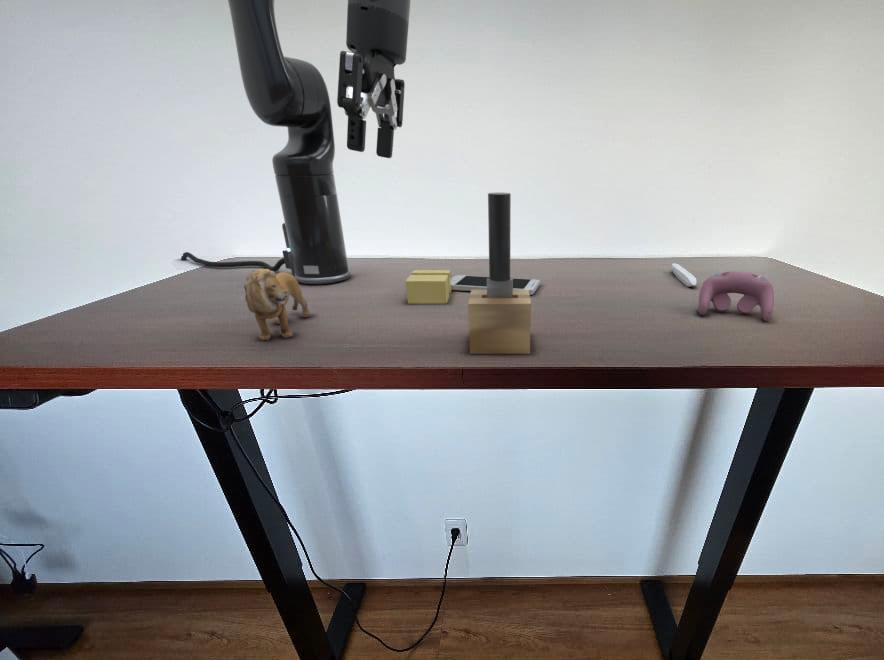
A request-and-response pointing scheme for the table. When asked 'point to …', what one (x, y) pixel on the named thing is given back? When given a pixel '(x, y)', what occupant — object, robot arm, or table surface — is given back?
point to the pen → (683, 275)
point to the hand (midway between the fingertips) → (370, 154)
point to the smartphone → (481, 283)
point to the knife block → (499, 323)
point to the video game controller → (744, 283)
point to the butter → (428, 287)
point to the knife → (499, 246)
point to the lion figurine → (273, 299)
